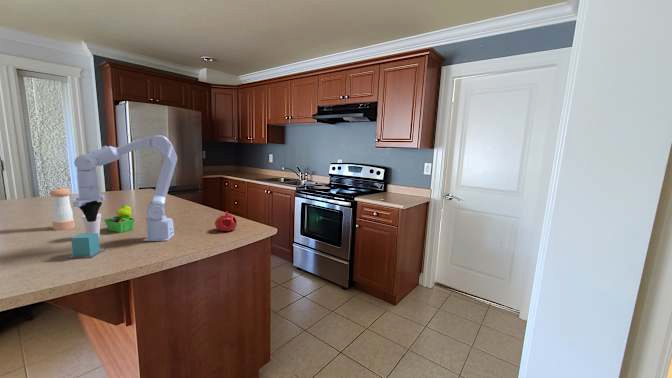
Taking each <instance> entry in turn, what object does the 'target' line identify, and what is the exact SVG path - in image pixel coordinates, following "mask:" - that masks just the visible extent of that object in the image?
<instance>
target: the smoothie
mask: <svg viewBox="0 0 672 378" xmlns="http://www.w3.org/2000/svg"><path fill="white" fill-rule="evenodd" d="M81 219H82V222H83V225H84V229H85V232H86V233H98V235H99V236H100V232H101V222H102V221H101V219H102V214H101V213H99V212H98V214H97V218H96V221H94V222H88V221H87V219H86V217H85V215H84V214H83V215H81Z"/></svg>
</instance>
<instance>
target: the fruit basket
mask: <svg viewBox="0 0 672 378" xmlns="http://www.w3.org/2000/svg"><path fill="white" fill-rule="evenodd" d="M130 206H131V205H128V204H124V205H123V206H122V207H121V208H119V209H118V210H117V211H116V215H117V216H113V217H110V218H106V219H104V220H103V221H104V222H105V225H106V227H107V229H108V231H112V232H116V233H125V232H129V231H133V230H134V229H133V228H134V224H135V221H136V218H133V217H131V216H132V207H130Z"/></svg>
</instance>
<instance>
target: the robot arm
mask: <svg viewBox="0 0 672 378" xmlns="http://www.w3.org/2000/svg"><path fill="white" fill-rule="evenodd" d="M152 148H153V149H154V150H155V151H157V152H158V153H159V154H160V155H161V157H162V158H163V163H162V165H161V166H162V167H161V170H160V173H159V175H158V180H157V183H156V187H155V190H154V194H153V196H152V198H151V201H150V202H149V203H148V204H147V207H146V215H147V217H145V221H146V222H145V223H146V237H145V238H144V239H143V240H142V241H143V242H157V241H158V242H161V241H162V242H163V241H165V242H166V241H169V240H170V239H171V238H173V237H174V236H175V229H174V228H175V227H174V219H172V218H171V217H167V215H165V213H166V212H165V211H166V210H165V204H166V199H167V195H168V192H169V188H170V187H171V186H170V185H171V181H172V178H173V175H174V172H175V168H176V165H177V162H178V156H177V153H176V150H175V148H174V146H173V144H172V142H171V141H170V139H168V137H166V136H164V135H161V134H156V135H154V136H146V137H142V138H139V139H136V140H134V141H131V142H129V143H125V144H122V145H120V146H117V147H114V146H111V145H109V146H107V145H103V146H101V148H99V149H96V150H94V151H91V150H89V151H87V152H86V153H87V154H79V156H77V157H75V159H74V161H73V163H74V166H75V168H76V173H77V174H76V178H77V187H78V189H77V191H78V197H76V198H75V200H73V201H72V208H73V207H74V208H76V207H77V208H79V209H80V210H81V211H82V213H83V215H85V217H86V219H87V221H88V222H94V221H96V218H97V214H98V213H99V210H100V208H101V206H102V205H103V203H102V201H104V200H105V199H106V197H105V194H100V188H99V178H98V173H97V166H99V167H101V166H105V165H107V164H110V163H113V162H115V161H119V160H120V157H121V155H124V154H128V153H130V152H133V151H137V150H140V149H152Z"/></svg>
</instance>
